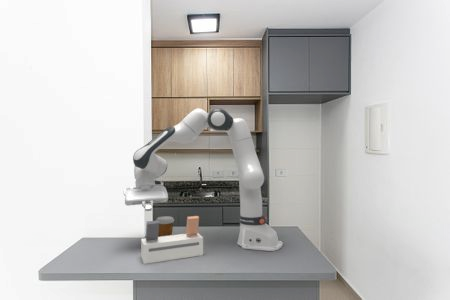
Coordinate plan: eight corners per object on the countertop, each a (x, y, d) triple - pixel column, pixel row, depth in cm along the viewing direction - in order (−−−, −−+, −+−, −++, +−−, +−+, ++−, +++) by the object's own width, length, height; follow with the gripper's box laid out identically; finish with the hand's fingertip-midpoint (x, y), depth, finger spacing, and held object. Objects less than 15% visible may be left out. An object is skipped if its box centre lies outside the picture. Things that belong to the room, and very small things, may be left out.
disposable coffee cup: (170, 244, 150) (170, 220, 150) (152, 243, 152) (152, 219, 152) (177, 238, 160) (176, 216, 160) (160, 237, 162) (160, 215, 162)
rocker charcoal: (145, 239, 131) (146, 221, 127) (157, 237, 133) (158, 220, 129) (146, 242, 129) (147, 224, 126) (157, 240, 131) (159, 223, 128)
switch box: (141, 256, 133) (141, 238, 133) (197, 248, 143) (197, 232, 143) (144, 264, 125) (143, 245, 125) (203, 255, 135) (203, 237, 135)
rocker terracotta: (185, 234, 138) (187, 216, 135) (196, 233, 139) (197, 215, 137) (186, 236, 136) (188, 219, 133) (197, 235, 138) (199, 218, 135)
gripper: (123, 184, 143) (125, 208, 134) (166, 181, 150) (170, 204, 141) (122, 192, 147) (124, 216, 138) (164, 189, 155) (169, 211, 146)
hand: (148, 210), depth 140 cm, fingers closed
